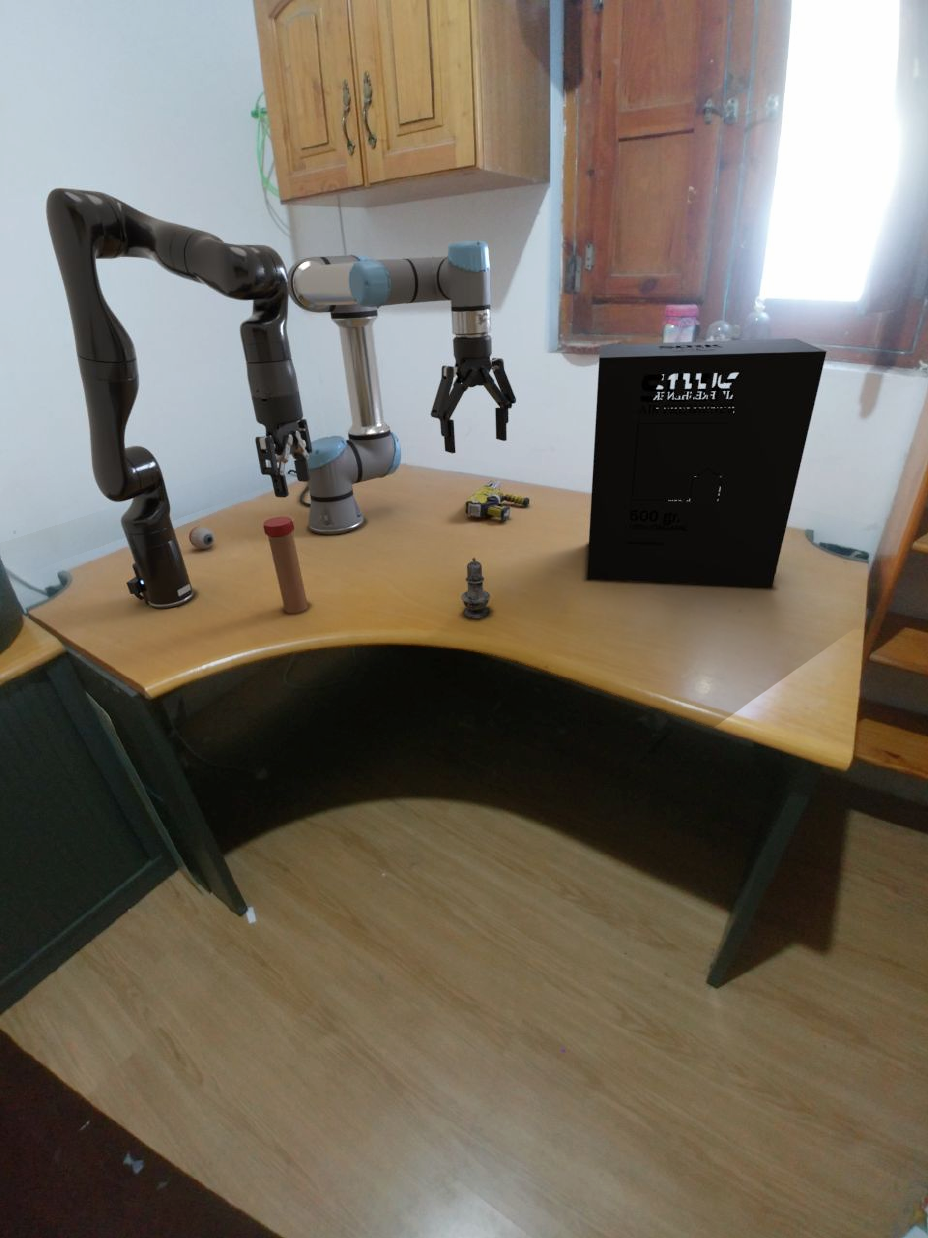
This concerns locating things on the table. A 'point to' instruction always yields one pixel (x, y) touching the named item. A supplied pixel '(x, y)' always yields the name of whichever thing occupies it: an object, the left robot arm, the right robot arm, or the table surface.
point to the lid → (278, 526)
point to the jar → (288, 573)
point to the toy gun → (492, 502)
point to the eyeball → (201, 537)
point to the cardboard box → (698, 459)
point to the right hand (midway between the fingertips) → (476, 445)
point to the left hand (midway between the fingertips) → (293, 488)
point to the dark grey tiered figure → (475, 592)
